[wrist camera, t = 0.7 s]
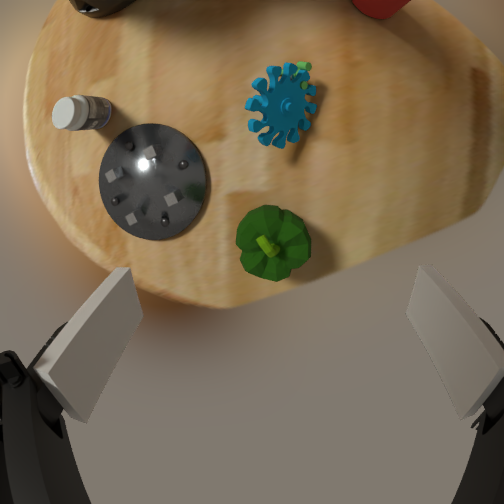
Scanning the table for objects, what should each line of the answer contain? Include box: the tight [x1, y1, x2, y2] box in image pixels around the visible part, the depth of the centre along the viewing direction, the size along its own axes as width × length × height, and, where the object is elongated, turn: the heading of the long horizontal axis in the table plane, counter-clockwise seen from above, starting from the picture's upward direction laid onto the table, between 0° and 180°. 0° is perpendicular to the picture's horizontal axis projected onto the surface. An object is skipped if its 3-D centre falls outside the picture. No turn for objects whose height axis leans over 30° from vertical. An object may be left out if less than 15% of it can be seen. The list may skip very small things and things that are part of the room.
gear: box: [245, 61, 317, 149], centre depth 27 cm, size 11×6×10 cm
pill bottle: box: [52, 95, 111, 131], centre depth 26 cm, size 5×5×8 cm
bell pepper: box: [236, 205, 311, 282], centre depth 31 cm, size 8×8×10 cm
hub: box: [99, 124, 207, 240], centre depth 33 cm, size 16×16×3 cm
